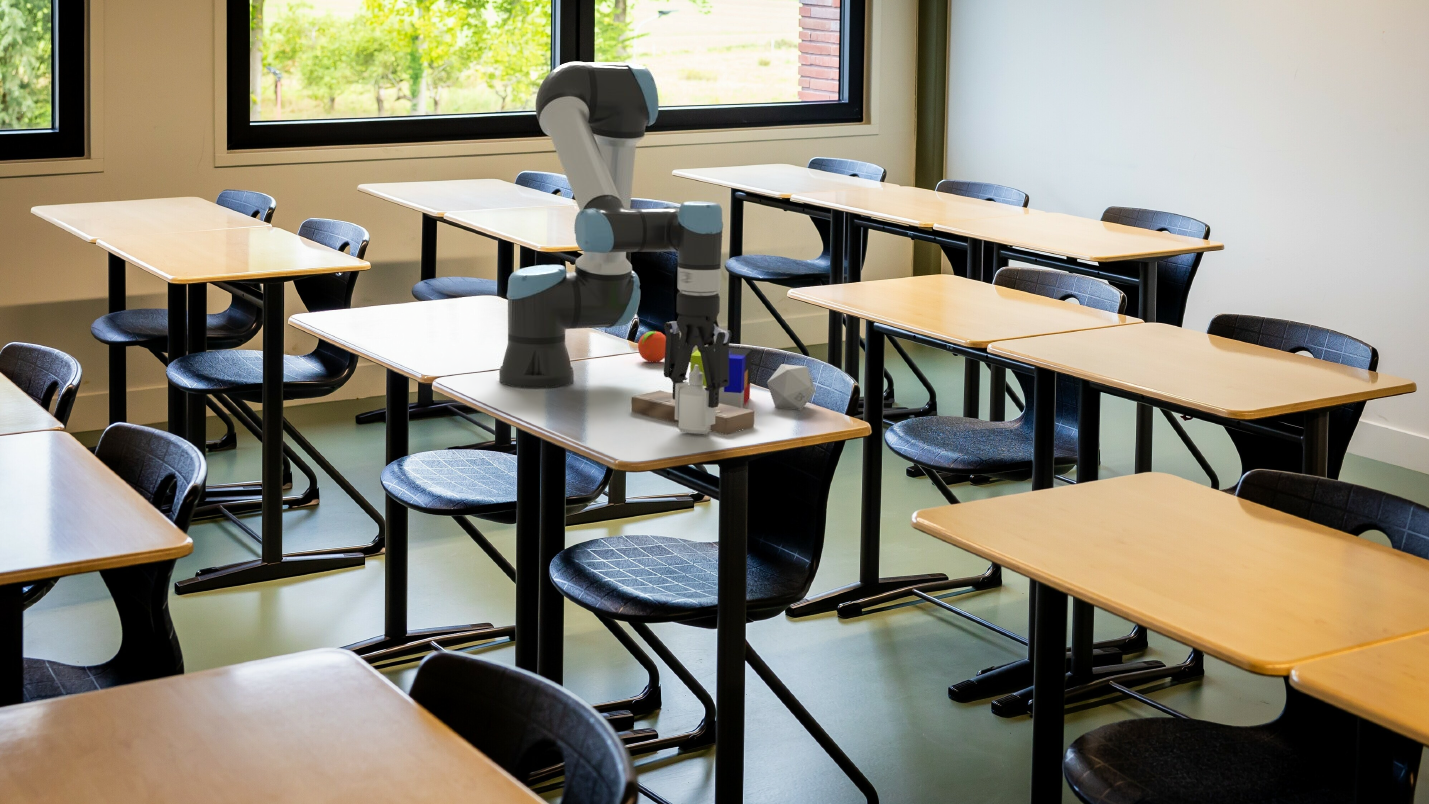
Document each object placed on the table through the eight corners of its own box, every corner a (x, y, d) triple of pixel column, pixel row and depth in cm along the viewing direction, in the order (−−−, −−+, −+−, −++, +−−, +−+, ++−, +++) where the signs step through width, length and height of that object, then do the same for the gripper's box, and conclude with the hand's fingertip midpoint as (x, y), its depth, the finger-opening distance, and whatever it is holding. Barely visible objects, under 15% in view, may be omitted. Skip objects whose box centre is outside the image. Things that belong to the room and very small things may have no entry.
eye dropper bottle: (696, 436, 247) (698, 369, 244) (674, 430, 250) (676, 364, 248) (714, 432, 250) (716, 366, 247) (692, 426, 254) (694, 361, 251)
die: (786, 417, 267) (819, 376, 267) (752, 389, 270) (784, 348, 270) (797, 424, 275) (830, 384, 275) (764, 396, 278) (795, 357, 278)
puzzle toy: (740, 410, 270) (742, 358, 268) (689, 406, 272) (690, 355, 269) (749, 399, 279) (751, 349, 277) (700, 395, 281) (701, 346, 279)
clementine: (655, 367, 306) (655, 335, 305) (628, 363, 310) (629, 331, 308) (674, 361, 313) (675, 330, 311) (648, 357, 316) (649, 326, 315)
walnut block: (631, 412, 265) (631, 396, 264) (659, 405, 271) (659, 389, 270) (726, 434, 251) (726, 417, 250) (753, 426, 257) (754, 410, 256)
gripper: (644, 287, 247) (641, 415, 253) (726, 300, 236) (722, 434, 241) (672, 283, 253) (669, 409, 258) (754, 296, 242) (749, 427, 247)
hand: (694, 421), depth 250 cm, fingers closed on eye dropper bottle, 6 cm apart
